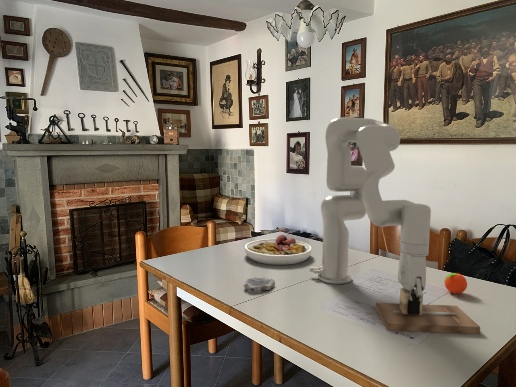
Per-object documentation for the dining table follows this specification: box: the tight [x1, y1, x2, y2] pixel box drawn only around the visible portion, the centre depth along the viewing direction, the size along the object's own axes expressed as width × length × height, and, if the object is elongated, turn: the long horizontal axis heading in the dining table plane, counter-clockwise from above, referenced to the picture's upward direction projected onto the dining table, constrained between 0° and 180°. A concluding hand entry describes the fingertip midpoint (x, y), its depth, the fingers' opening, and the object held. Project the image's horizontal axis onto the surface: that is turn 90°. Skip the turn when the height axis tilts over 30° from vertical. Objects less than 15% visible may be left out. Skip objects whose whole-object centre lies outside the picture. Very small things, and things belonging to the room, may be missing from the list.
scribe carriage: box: [399, 287, 424, 315], centre depth 109 cm, size 6×4×6 cm
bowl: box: [244, 234, 312, 266], centre depth 174 cm, size 30×30×8 cm
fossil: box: [243, 276, 276, 294], centre depth 135 cm, size 11×4×10 cm
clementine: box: [444, 272, 468, 295], centre depth 131 cm, size 8×7×7 cm
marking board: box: [375, 302, 481, 335], centre depth 109 cm, size 24×14×2 cm, turn 86°
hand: (410, 309), depth 110 cm, fingers closed on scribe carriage, 4 cm apart
